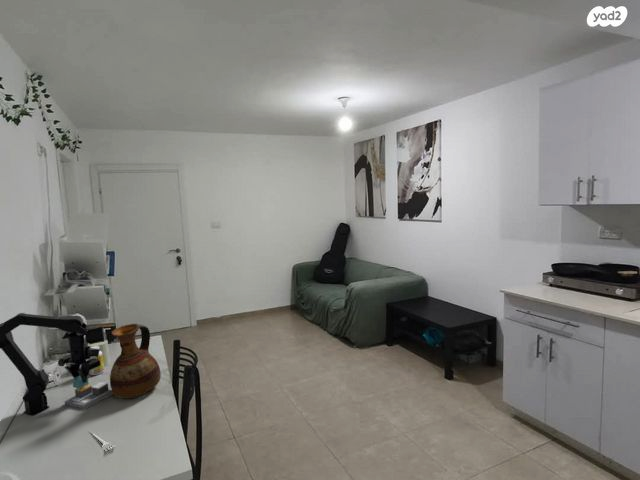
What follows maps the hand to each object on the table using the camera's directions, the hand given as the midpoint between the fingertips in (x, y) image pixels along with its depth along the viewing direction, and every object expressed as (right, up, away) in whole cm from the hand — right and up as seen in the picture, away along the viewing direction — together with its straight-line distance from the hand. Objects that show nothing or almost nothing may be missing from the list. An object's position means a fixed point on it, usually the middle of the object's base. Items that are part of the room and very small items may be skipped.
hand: (81, 381), depth 162 cm
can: (-14, -5, +37) cm, 40 cm away
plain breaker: (+7, -6, +2) cm, 9 cm away
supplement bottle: (-9, -6, +27) cm, 29 cm away
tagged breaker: (+1, -6, +1) cm, 6 cm away
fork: (+25, -10, -29) cm, 40 cm away
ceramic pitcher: (+21, -6, +6) cm, 23 cm away
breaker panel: (+3, -8, +1) cm, 8 cm away
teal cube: (0, -2, 0) cm, 2 cm away
